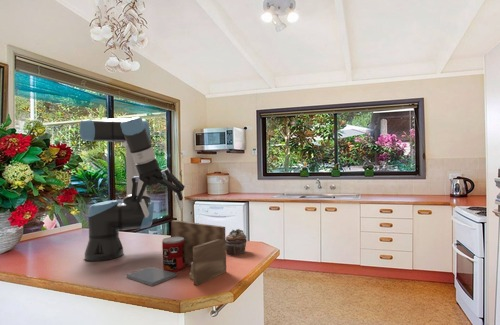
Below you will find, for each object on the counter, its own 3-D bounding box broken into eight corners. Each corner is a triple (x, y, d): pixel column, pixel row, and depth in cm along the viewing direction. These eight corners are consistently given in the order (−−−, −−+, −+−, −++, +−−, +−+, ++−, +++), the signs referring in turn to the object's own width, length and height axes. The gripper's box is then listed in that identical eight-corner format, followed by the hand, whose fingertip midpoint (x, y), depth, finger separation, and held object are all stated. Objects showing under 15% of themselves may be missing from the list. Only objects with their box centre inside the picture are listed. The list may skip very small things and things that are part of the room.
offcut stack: (189, 278, 105) (189, 263, 105) (207, 270, 112) (207, 256, 112) (198, 280, 102) (197, 265, 102) (216, 272, 110) (216, 258, 110)
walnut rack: (144, 270, 114) (143, 226, 114) (175, 259, 126) (174, 220, 126) (196, 285, 98) (195, 235, 98) (226, 271, 110) (225, 226, 110)
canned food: (158, 270, 114) (157, 240, 114) (175, 263, 121) (174, 235, 121) (173, 273, 110) (172, 242, 110) (189, 267, 116) (188, 237, 116)
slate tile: (126, 277, 107) (126, 274, 107) (150, 269, 115) (150, 266, 115) (152, 286, 99) (151, 282, 99) (176, 276, 107) (176, 273, 107)
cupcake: (238, 248, 141) (237, 226, 141) (251, 253, 133) (250, 229, 133) (220, 252, 135) (219, 229, 135) (232, 257, 127) (231, 233, 127)
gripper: (108, 172, 108) (129, 224, 115) (176, 155, 107) (194, 209, 113) (116, 164, 115) (136, 214, 122) (181, 149, 114) (197, 200, 121)
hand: (164, 212), depth 118 cm, fingers open, 13 cm apart
